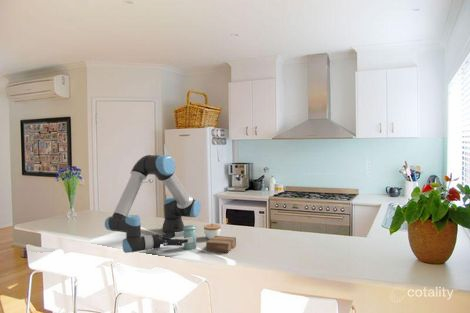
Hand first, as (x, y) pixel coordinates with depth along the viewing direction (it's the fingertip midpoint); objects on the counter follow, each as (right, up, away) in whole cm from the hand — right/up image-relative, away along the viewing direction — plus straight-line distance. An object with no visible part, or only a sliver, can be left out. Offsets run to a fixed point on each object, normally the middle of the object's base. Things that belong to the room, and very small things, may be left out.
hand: (189, 236), depth 199 cm
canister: (0, -7, +1) cm, 7 cm away
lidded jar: (+12, -6, +19) cm, 23 cm away
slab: (+19, -6, -1) cm, 20 cm away
